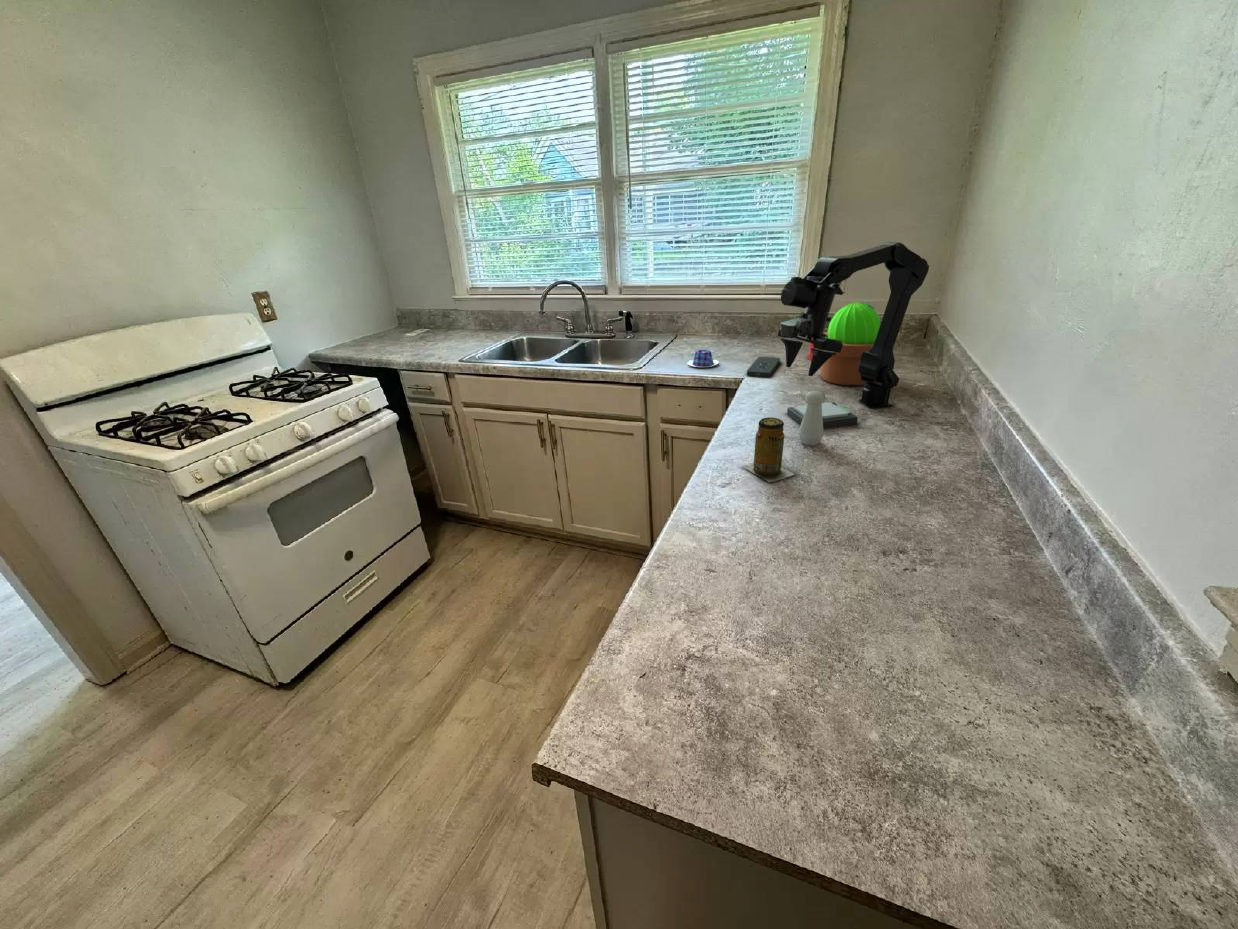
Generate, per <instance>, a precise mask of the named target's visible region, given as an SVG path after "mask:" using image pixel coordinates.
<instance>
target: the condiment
mask: <svg viewBox="0 0 1238 929" xmlns="http://www.w3.org/2000/svg"><path fill="white" fill-rule="evenodd" d="M784 425H785V422H784V421H783V420H782V419H780V418H778V417H771V416H770V417H768V416H767V417H763V418H761V419H759V421H758V426H757V431H756V433H755V441H754V452H753V453H754V455H753V464H752V465H748V466H744V469H746V470H747V471H749V472H751V473H752V474H754V475H756V476H757V477H760V479H762V480H764V481H766V482H768V483H774V482H776V481H781V480H783V479H786V478H789V477H792V476H794V475H796V474H795V473H794V472H792V471H790V470H788V469H786V468H784V467H782V463H783V454H784V446H785V445H784V444H785V433H784V429H785V428H784Z"/></svg>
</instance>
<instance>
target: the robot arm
mask: <svg viewBox="0 0 1238 929" xmlns="http://www.w3.org/2000/svg"><path fill="white" fill-rule="evenodd" d="M881 264H884V268H886V269H887V271H888V272H889V275H888V285H889V290H890V294H889V297H888V300H887V303H886V306H885V309H884V312H883V315H882V319H881V320H880V321H881V324H880V327H879V330H878V333H877V336H876V339H875V342H874V345H873V347H872V348H871V349H870V350H869V351H868V352H865V351H864V352H863V353H862V356H861V360H860V362H859V364H858V366H859V372H860V375H861V380H862V381H865V382H867V383H865V385H864V387H863V388H862V392H861V398H859V399H858V402H859V403H861V404H863V405H865V406H866V407H867V408H870V409H877V408H885V407H892V406H893V403H891V402H889V401H890V396H891V391H892V389H893V388H895V387H897V386H898V385H899V384H898V383H899V382H900V377H899V376H898V374H896V372H895V371H894V368H895V363H896V359H895V355H894V347H895V344H896V341H897V339H898V335H899V332H900V330H901V327H902V324H903V321H904V318H905V316H906V312H907V309H908V307H909V303H910V301H911V298H912V296H913V295H914V294H915V293H916V292H917V291H918V289H919V288H921V287H922V285H923V283H924V281H925V279H926V277H927V275H928V273H929V269H930V265H929V263H928V261H927V259H925V258H923V257H921V256H920V255H919V254H917V253H916V252H914V251H912V250H911V249H909V248H908V247H907V246H906V245H905V244H904V243H902V242H901V241H900V242H899V241H898V242H896V241H887V242H885V243H882V244H880V245H877V246H874V247H871V248H867V249H864V250H861V251H857V252H854V253H850V254H847V255H830V256H822V257H819V258H818V259H817V260H816V263H815V264H814V266H813V267H812V268H811V269H810V270H809V271H808V272H807V273H805V275H804V276H803V277H800V276H794V275H792V276H791V277H790V280H789V281H788V282H786V284H785V285H784V286H783V288H782V289H781V291H780V302H781V304H782V305H783V306H787V307H794V308H799V309H805V310H804V312H803V311H801V312H800V313H799V315H798V318H792V319H789V320H786V321H782V322H780V328H779V329H778V333H777V337H779V340H780V341H781V342H782V343H783V345H784V348H785V367H786V368H791V367H792V365H793V364H794V362H795V360H796V358H797V356H798V354H799V352H800V350H801V348H802V347H803V344H804V342H806V343H809V344H810V343H812V344H813V346H814V348H817V349H812V348H811V351H812V354H813V357H812V360H810V365H809V368H808V375H807V376H808V377H813V376H814V375H815V374H816V373H817V372H818V371H819V370H820V369H821V366H822V365H823V364H824V363H825V362H826V361H827V360H828V359H829V358H830V357H831V356H832V355H836V353H835V352H839V353H840V352H841V349H842V346H843V344H842V341H840V340H837V339H833V338H828V337H826V334H823V333H824V332H825V327H826V326H827V325H826V324H827V322H828V323H830V322H831V320H832V317H831V316H829V315H830V313H831V309H832V306H833V303H834V300H835V297H836V295H839V296H843V295H844V291H843V290H842V288H841V287H840V286H841V285H840V283H842V282H844V281H846V280H848V279H850V278H851V276H853V274H855V273H857V272H860V271H862V270H863V271H864V270H865V269H869V268H872V267H875V266H878V265H881Z"/></svg>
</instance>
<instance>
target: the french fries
mask: <svg viewBox="0 0 1238 929" xmlns="http://www.w3.org/2000/svg"><path fill="white" fill-rule="evenodd" d="M811 348H812V349H817V348H814V346H813V344H812V343H809V351H808V360H810V361H812V357H813V354H812V351H811Z"/></svg>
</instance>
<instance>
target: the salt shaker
mask: <svg viewBox="0 0 1238 929" xmlns="http://www.w3.org/2000/svg"><path fill="white" fill-rule="evenodd" d="M825 400H826V394H825V393H824V392H822V391H818V390H811V391H808V392H807V393H806V395H805V402H806V403H807V404H806V405H807V408H806V411H805V414H804V417H803V420H802V423H801V425H800V426H799V429H798V437H799V439H800V442H801V444H803V445H806V446H816V445H818V444H819V443H820V442H821V440H822V438H823V437H824V428H823V418H822V403H825Z"/></svg>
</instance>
